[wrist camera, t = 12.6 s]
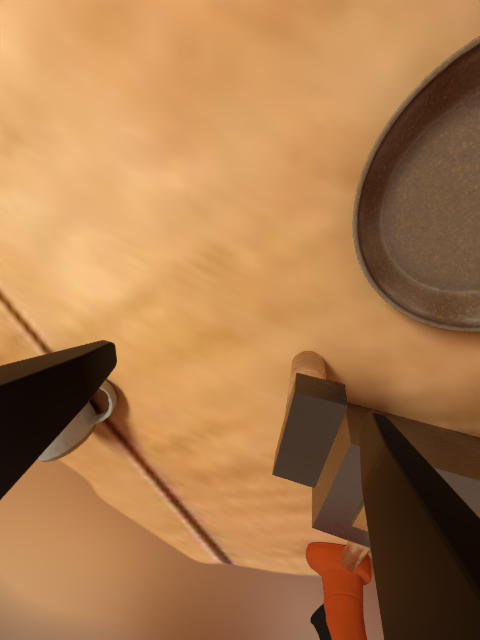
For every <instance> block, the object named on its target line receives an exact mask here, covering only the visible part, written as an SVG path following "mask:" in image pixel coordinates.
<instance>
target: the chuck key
mask: <svg viewBox="0 0 480 640" xmlns="http://www.w3.org/2000/svg"><path fill="white" fill-rule="evenodd" d="M347 407H348V402H347V396H346V390H345V384H341V383H337V382H333V381H329V380H326V371H325V362H324V360H323V358H322V357H321V356H320V355H319V354H317V353H315V352H311V351H304V352H301V353H299V354H297V355H296V356H295V357H294V359H293V361H292V368H291V376H290V383H289V391H288V398H287V406H286V413H285V418H284V422H283V426H282V430H281V434H280V438H279V441H278V445H277V449H276V454H275V460H274V467H273V474H272V475H275V476H278V477H281V478H284V479H287V480H291V481H294V482H297V483H300V484H303V485H306V486H309V487H312V488H315V487H316V485H317V482H318V480H319V477H320V475H321V472H322V470H323V467H324V465H325V462H326V460H327V457H328V455H329V452H330V450H331V447H332V445H333V442H334V440H335V437H336V435H337V432H338V430H339V427H340V425H341V422H342V420H343V417H344V415H345V412H346V410H347Z"/></svg>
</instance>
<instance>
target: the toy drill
mask: <svg viewBox="0 0 480 640" xmlns="http://www.w3.org/2000/svg"><path fill="white" fill-rule="evenodd" d="M344 548H345V545H339V544H333V543H320V542H319V543H311V544H309V545H308V546H307V549H306V559H307V562H308V564H309V566H310V567H311V568H312V569H313V570H315V571H316V572H317V573H318V574H319V575H321V576H322V580H323V590H324V604H323V605H321V606H320V607H319V608H318V609H317V610H316V612H315V613H314V614H313V615H312V617H311V623H312V624H313V625H314V627H315V628H316V630H317V632H318V635H319V638H320V640H367V636H366V631H365V625H364V617H363V585H366V584H368V583H370V581H371V564H370V559H369V557H368V555H367V554H366V556H365V557H364V558H363V560H362V561H361V563H360V564H359V566H358V567H357V568H356V570H355V571H352V572H351V571H348V570H347V569H346V568H345V567H344V566H343V565H342V563H341V559H340V555H341V553H342V551H343V550H344Z"/></svg>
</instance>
